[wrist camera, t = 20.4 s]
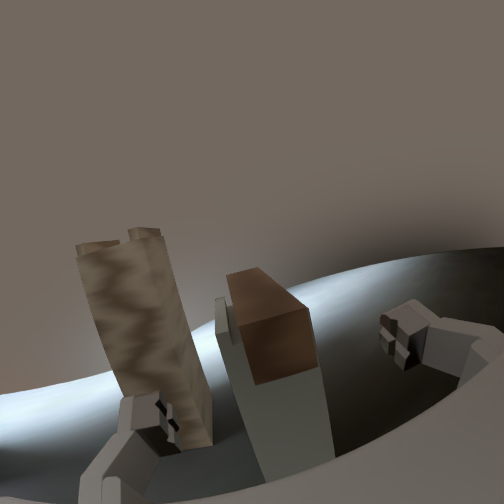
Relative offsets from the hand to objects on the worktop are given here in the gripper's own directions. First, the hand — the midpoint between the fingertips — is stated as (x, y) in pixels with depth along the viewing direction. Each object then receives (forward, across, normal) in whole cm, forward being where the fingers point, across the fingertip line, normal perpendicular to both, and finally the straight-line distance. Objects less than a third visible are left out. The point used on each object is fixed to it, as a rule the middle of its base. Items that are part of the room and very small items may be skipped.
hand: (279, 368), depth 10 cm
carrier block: (+10, 0, +24) cm, 26 cm away
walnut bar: (+12, -1, +7) cm, 14 cm away
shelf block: (+20, +12, +27) cm, 36 cm away
